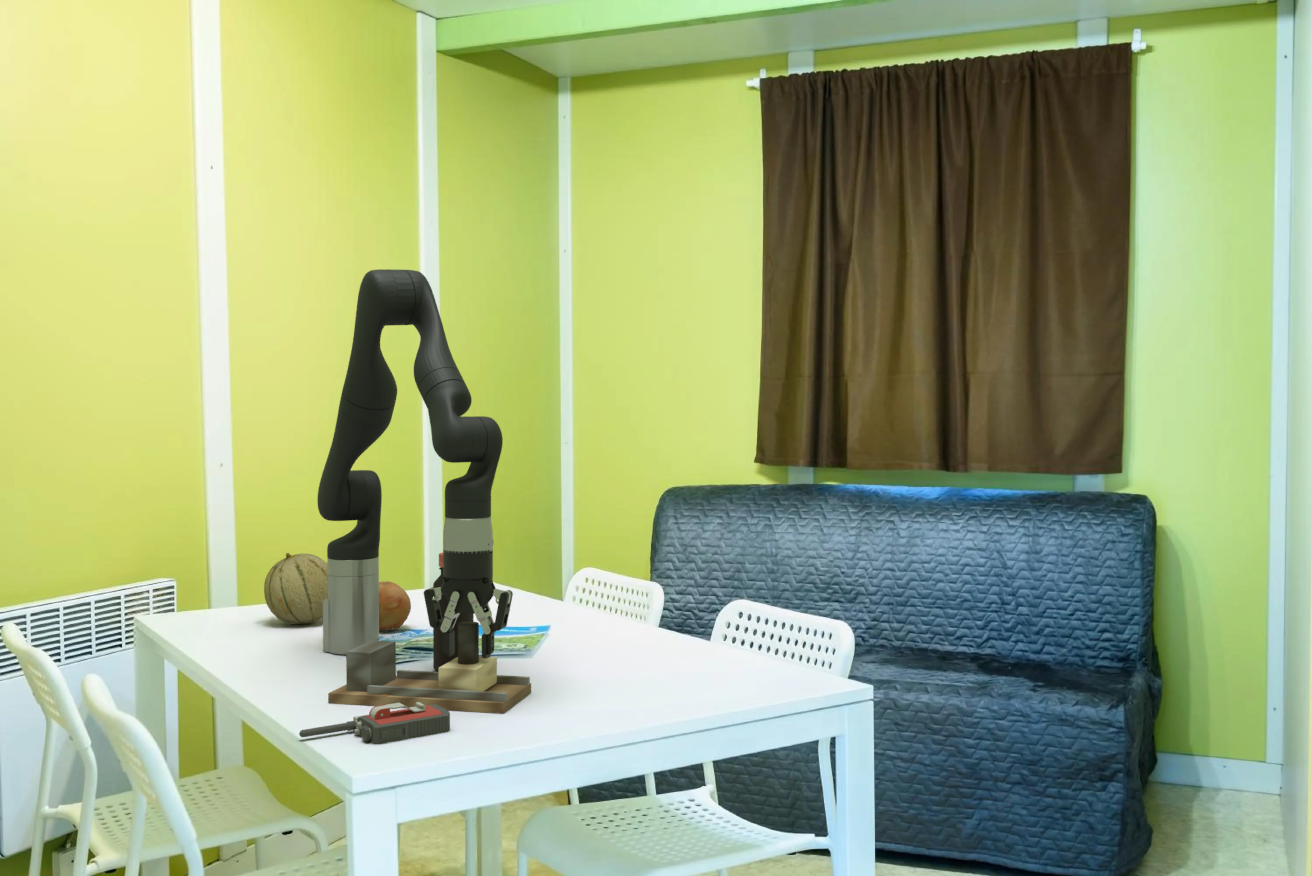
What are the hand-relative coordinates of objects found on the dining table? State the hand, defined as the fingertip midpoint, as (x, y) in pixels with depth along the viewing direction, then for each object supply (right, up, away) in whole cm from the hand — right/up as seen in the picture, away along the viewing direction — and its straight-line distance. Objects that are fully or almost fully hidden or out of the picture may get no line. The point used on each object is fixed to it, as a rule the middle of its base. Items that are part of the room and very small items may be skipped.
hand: (468, 656), depth 180 cm
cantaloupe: (-45, -5, +63) cm, 78 cm away
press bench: (-6, -7, +1) cm, 9 cm away
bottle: (-6, -6, +21) cm, 23 cm away
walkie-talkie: (-9, -8, -19) cm, 22 cm away
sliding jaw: (0, -5, 0) cm, 5 cm away
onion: (-25, -5, +56) cm, 62 cm away
